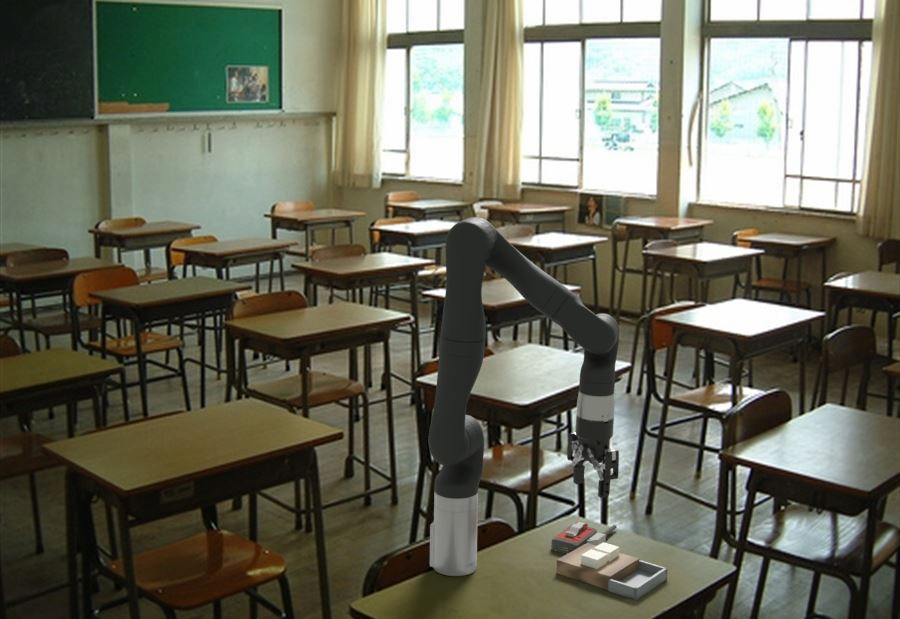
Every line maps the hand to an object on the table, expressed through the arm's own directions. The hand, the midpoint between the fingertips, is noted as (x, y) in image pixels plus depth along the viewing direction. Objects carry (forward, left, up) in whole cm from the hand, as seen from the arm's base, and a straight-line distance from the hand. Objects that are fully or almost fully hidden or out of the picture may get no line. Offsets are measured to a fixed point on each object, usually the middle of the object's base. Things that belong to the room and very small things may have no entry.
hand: (590, 490), depth 231 cm
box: (+8, +7, -21) cm, 23 cm away
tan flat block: (-2, +7, -21) cm, 22 cm away
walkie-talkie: (-13, +20, -22) cm, 32 cm away
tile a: (-1, +5, -18) cm, 18 cm away
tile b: (-1, +10, -18) cm, 20 cm away
